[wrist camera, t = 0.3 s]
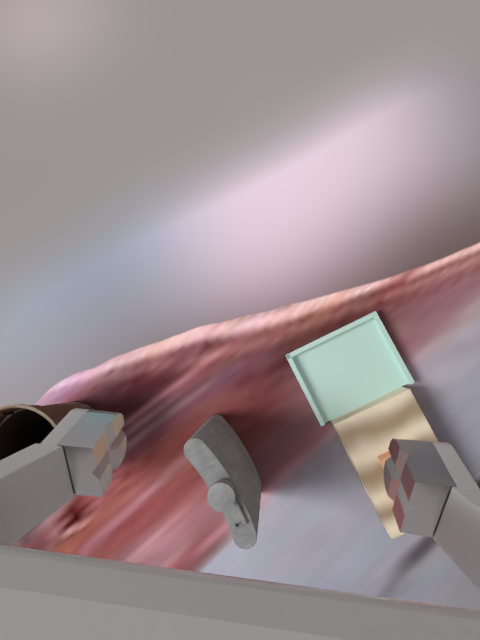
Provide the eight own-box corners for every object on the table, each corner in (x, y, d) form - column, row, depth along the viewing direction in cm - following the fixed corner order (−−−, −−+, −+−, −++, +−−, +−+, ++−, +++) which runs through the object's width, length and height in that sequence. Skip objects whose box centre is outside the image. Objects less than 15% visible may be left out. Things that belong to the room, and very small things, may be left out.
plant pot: (132, 424, 65) (87, 448, 49) (84, 494, 65) (22, 542, 49) (69, 375, 67) (5, 382, 51) (21, 442, 67) (-58, 471, 51)
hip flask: (205, 419, 64) (173, 451, 44) (223, 408, 63) (200, 434, 44) (250, 496, 62) (239, 566, 42) (269, 484, 61) (266, 549, 42)
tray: (411, 381, 61) (414, 382, 59) (320, 424, 61) (321, 426, 60) (373, 312, 62) (375, 311, 61) (285, 355, 63) (285, 355, 62)
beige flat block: (458, 492, 58) (471, 503, 54) (383, 526, 59) (392, 539, 55) (400, 386, 61) (409, 388, 57) (330, 420, 61) (333, 424, 57)
